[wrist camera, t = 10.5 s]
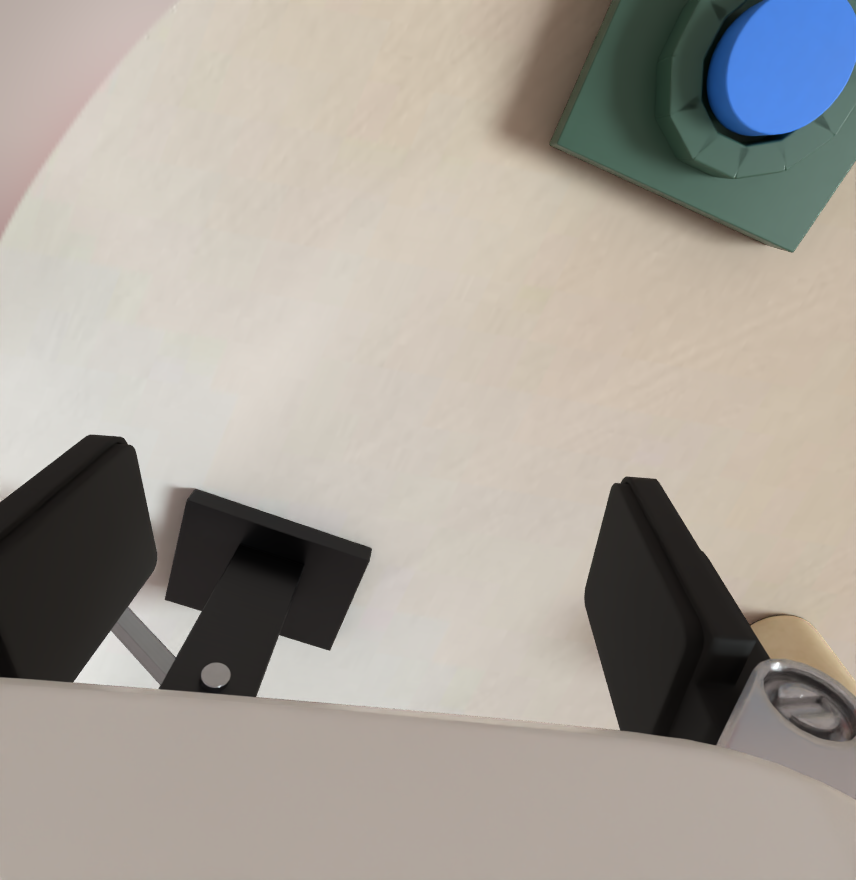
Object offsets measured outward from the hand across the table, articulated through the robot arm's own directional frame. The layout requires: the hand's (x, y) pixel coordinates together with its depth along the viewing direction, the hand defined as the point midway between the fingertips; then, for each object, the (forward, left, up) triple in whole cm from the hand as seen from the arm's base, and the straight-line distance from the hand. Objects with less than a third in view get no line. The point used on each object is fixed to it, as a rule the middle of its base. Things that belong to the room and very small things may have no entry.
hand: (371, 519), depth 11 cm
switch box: (+9, +13, -20) cm, 26 cm away
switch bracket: (-3, -22, -20) cm, 30 cm away
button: (+9, +13, -17) cm, 23 cm away
